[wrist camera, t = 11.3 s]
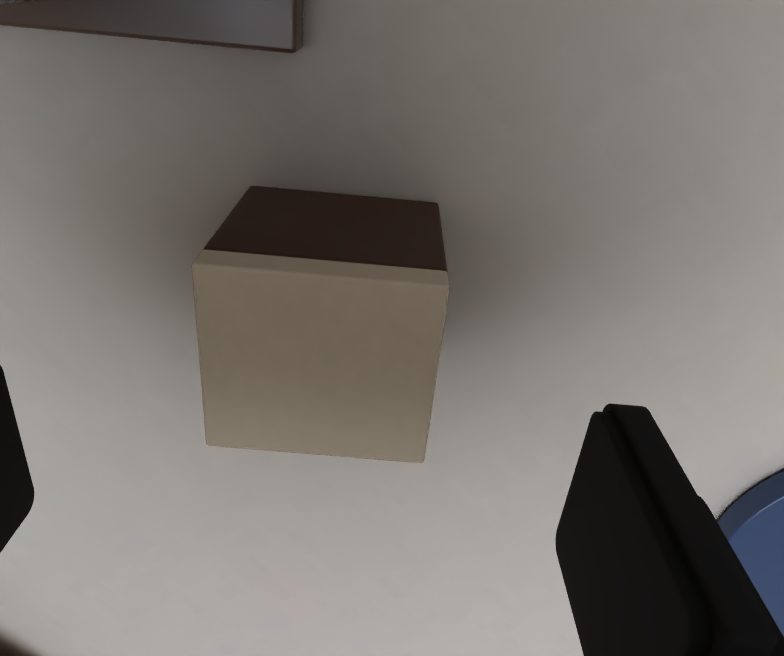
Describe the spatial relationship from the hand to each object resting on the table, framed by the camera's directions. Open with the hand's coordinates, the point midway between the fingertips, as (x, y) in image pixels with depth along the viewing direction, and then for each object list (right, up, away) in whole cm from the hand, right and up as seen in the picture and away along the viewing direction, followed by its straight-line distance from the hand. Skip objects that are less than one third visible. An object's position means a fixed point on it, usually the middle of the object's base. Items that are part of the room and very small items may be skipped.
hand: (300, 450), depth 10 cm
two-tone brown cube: (0, +3, +5) cm, 6 cm away
